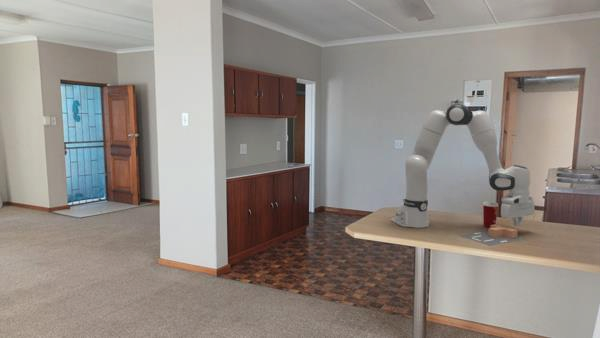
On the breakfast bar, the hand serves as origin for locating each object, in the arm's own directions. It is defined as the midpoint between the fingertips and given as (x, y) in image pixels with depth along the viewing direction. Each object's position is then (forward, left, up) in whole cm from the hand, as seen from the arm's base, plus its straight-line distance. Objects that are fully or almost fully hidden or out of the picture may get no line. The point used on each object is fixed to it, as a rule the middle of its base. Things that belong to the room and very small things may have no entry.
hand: (517, 225), depth 203 cm
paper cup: (-15, -1, -5) cm, 16 cm away
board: (0, -17, -5) cm, 18 cm away
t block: (0, -11, -4) cm, 12 cm away
